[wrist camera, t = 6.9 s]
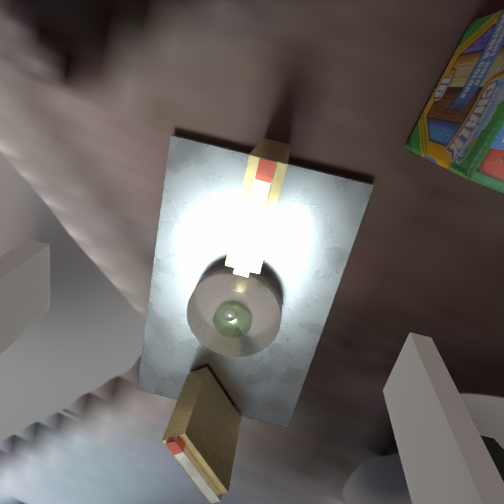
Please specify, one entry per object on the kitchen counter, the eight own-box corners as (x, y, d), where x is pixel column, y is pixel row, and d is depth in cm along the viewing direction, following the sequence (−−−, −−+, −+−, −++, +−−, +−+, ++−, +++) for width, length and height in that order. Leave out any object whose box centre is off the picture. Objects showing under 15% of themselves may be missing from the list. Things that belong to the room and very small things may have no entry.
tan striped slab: (268, 231, 32) (258, 279, 24) (242, 225, 32) (223, 271, 24) (291, 143, 29) (287, 164, 21) (262, 136, 29) (248, 155, 21)
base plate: (287, 420, 41) (286, 454, 38) (140, 382, 42) (124, 412, 38) (371, 182, 31) (381, 195, 27) (174, 133, 31) (156, 140, 27)
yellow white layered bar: (241, 418, 40) (227, 500, 32) (223, 424, 41) (204, 506, 33) (206, 365, 38) (181, 439, 30) (187, 372, 39) (158, 446, 31)
